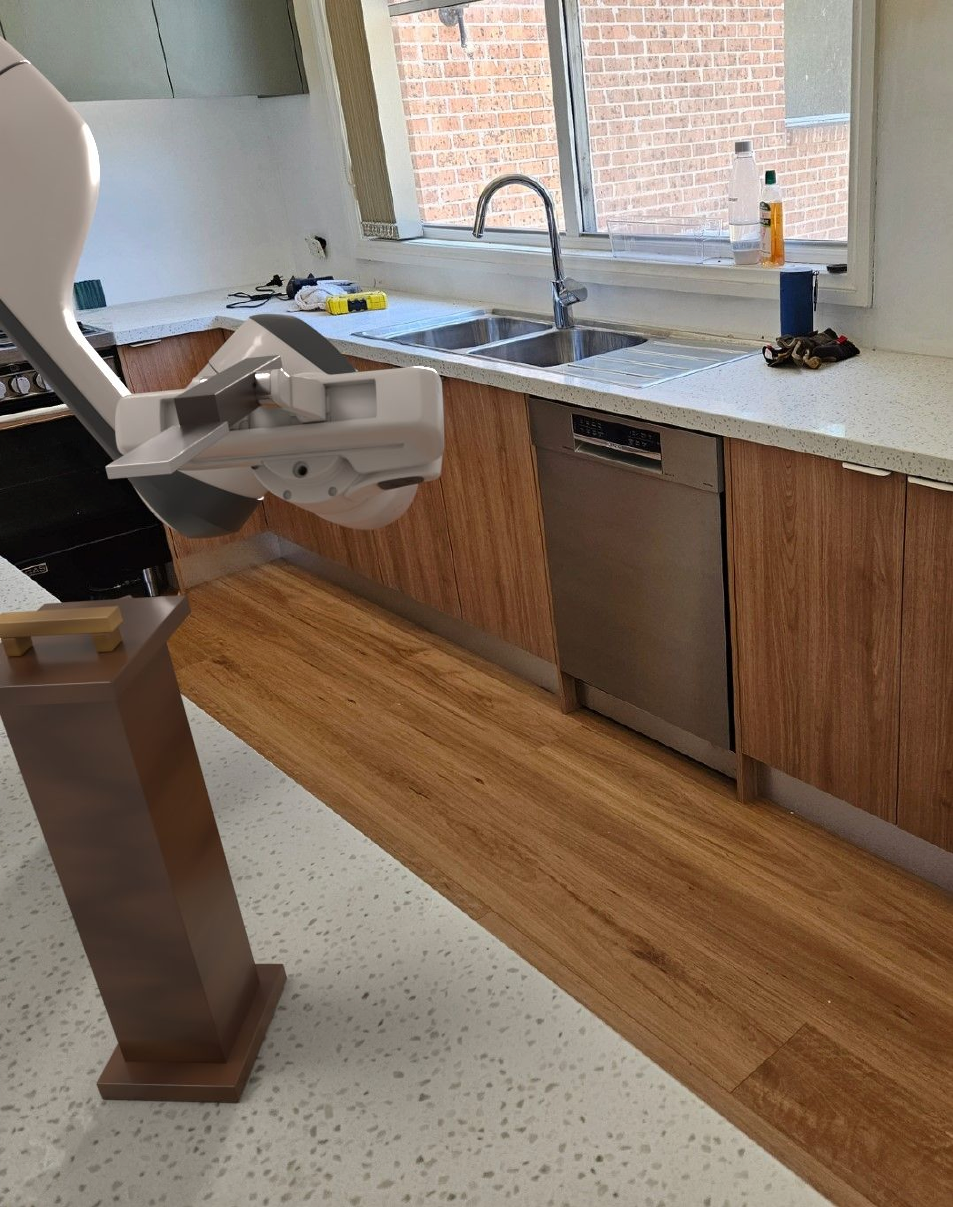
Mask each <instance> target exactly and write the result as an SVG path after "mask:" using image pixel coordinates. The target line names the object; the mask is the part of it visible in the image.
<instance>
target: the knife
mask: <svg viewBox="0 0 953 1207" xmlns="http://www.w3.org/2000/svg"><path fill="white" fill-rule="evenodd" d="M274 369H281V370H283V367H282V361H281V356H280V355H273V356H263V357H253V358H246V359H244V360H242V361H240V362H238V363H236V364H235V365H233V366H231V367H229V368H227V369H225V370H224V371H222V372H220V373H218V374H216V375H215V376H213V377H211V378H209V379H207V380H205V381H204V382H202V383H200V384H198V385H196V386H194V387H193V388H191V389H189V390H187V391H185V392H183V393H182V394H180V395H178V396H176V397H174V403H175V407H176V412H177V416H178V421H179V425H180V426H171V427H170V428H168V429H167V430H165V431H163V432H162V433H160V434H158V435H157V436H155V437H153V438H152V439H150V440H148V441H147V442H145V443H143V444H142V445H140V446H139V447H137V448H135V449H134V450H132V451H130V452H129V453H127V454H125V455H124V456H122V457H120V458H119V459H117V460H115V461H114V460H113V461H112V462H110V463H109V464H107V465H105V471H106V475H107V479H108V480H117V479H128V478H129V477H142V476H154V475H166V474H172V473H173V472H175V471H176V470H177V469H179V468H180V467H182V466H183V465H185V464H186V463H187V462H189V461H190V460H192V459H193V458H194V457H196V456H197V455H199V454H200V453H201V452H203V451H204V450H206V449H207V448H208V447H210V446H211V445H213V444H214V443H216V442H217V441H218V440H220V439H221V438H223V437H224V436H225V435H227V434H228V433H229V428H230V427H231V426H233V425H234V424H236V423H237V422H238V421H240V420H241V419H243V418H244V417H246V416H247V415H248V414H250V413H251V412H253V411H254V410H256V409H257V408H258V407H260V406H261V404H258V403H257V401H256V399H255V394H254V388H255V387H256V384H255V382H254V374H255V372H257V371H266V370H274Z"/></svg>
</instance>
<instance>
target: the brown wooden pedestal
mask: <svg viewBox="0 0 953 1207" xmlns="http://www.w3.org/2000/svg"><path fill="white" fill-rule="evenodd" d="M191 613H192V608H191V605H190V601H189V597H188V595H186V594H183V595H168V596H167V595H166V596H150V597H133V598H131V599H119V598H116V599H99V600H98V599H97V600H82V601H66V602H51V603H50V602H48V603H44V604H42V605H41V606H40V607H39V608H38V609H37V610H28V611H27V610H26V611H11V612H1V613H0V719H1V722H2V725H3V727H4V730H5V733H6V735H7V738H8V741H9V744H10V746H11V749H12V750H11V751H12V752H13V754H14V758H15V761H16V764H17V766H18V769H19V772H20V775H21V777H22V780H23V783H24V785H25V788H26V791H27V794H28V797H29V799H30V803H31V806H32V807H33V810H34V813H35V817H36V819H37V822H38V824H39V828H40V831H41V833H42V835H43V836H42V837H43V838H44V841H45V844H46V846H47V850H48V852H49V855H50V858H51V860H52V864H53V866H54V869H55V872H56V874H57V877H58V880H59V884H60V885H61V888H62V891H63V894H64V896H65V900H66V902H67V905H68V908H69V911H70V914H71V916H72V919H73V921H74V924H75V927H76V930H77V933H78V936H79V939H80V941H81V944H82V947H83V950H84V951H85V955H86V958H87V960H88V963H89V967H90V970H91V971H92V975H93V977H94V980H95V982H96V986H97V988H98V991H99V994H100V997H101V999H102V1002H103V1006H104V1007H105V1010H106V1014H107V1016H108V1019H109V1022H110V1025H111V1027H112V1030H113V1034H114V1036H115V1038H116V1041H117V1044H116V1046H115V1047H114V1049H113V1051H112V1053H111V1055H110V1057H109V1059H108V1060H107V1063H106V1065H105V1067H104V1068H103V1070H102V1072H101V1074H100V1075H99V1078H98V1079H97V1081H96V1087H97V1089H98V1092H99V1095H100V1097H101V1099H102V1100H127V1101H128V1100H129V1101H130V1100H131V1101H133V1100H135V1101H170V1102H171V1101H173V1102H204V1103H205V1102H207V1103H209V1102H211V1103H240V1101H241V1099H242V1096H243V1093H244V1091H245V1089H246V1086H247V1083H248V1080H249V1078H250V1075H251V1072H252V1070H253V1067H254V1065H255V1062H256V1059H257V1057H258V1054H259V1052H260V1049H261V1046H262V1044H263V1042H264V1039H265V1037H266V1034H267V1031H268V1029H269V1026H270V1024H271V1021H272V1019H273V1016H274V1013H275V1011H276V1008H277V1005H278V1003H279V1000H280V998H281V995H282V992H283V990H284V987H285V985H286V982H287V979H288V977H287V972H286V968H285V965H284V963H255V962H256V961H255V959H254V955H253V951H252V947H251V944H250V941H249V936H248V933H247V929H246V926H245V922H244V919H243V915H242V911H241V908H240V904H239V901H238V897H237V893H236V889H235V885H234V883H233V878H232V875H231V872H230V867H229V864H228V860H227V857H226V853H225V849H224V847H223V842H222V838H221V835H220V831H219V827H218V825H217V824H218V823H217V820H216V817H215V812H214V809H213V807H212V802H211V799H210V796H209V792H208V788H207V784H206V781H205V776H204V773H203V770H202V766H201V761H200V759H199V754H198V751H197V748H196V745H195V741H194V736H193V734H192V731H191V726H190V722H189V720H188V715H187V711H186V707H185V704H184V700H183V697H182V692H181V690H180V685H179V682H178V678H177V675H176V671H175V668H174V664H173V660H172V657H171V656H172V655H171V654H170V649H169V645H168V640H169V639H170V638H171V637H172V636H173V635H174V634H175V632H177V630H178V629H179V628H180V627H181V625H182V624H183V623H184V621H185V620H186V619H187V618H188V617H189V615H190V614H191Z"/></svg>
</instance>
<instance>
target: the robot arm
mask: <svg viewBox="0 0 953 1207" xmlns="http://www.w3.org/2000/svg"><path fill="white" fill-rule="evenodd" d="M76 110H77V109H75V107H73V106H72V104H71V102H69V101H68V100H67V99H66V98H65V96H64V95H63V94H62V93H61V92H60V91H59V90H58V89H57V88H56V86H54V84H52V83H51V82H50V80H48V79H47V77H46V76H44V74H43V73H42V72H40V71H39V69H37V67H35V66H34V65H33V64H32V63H31V61H29V60H28V59H27V58H26V57H24V55H22V54H21V53H20V52H19V51H18V50H17V49H16V48H15V47H14V46H12V44H11V43H10V42H8V41H7V40H6V39H4V38H3V37H2V36H1V35H0V329H1V330H2V332H3V333H4V334H5V335H6V337H7V338H8V339H9V340H10V342H11V343H12V344H13V345H14V346H15V347H16V349H17V350H18V351H19V352H20V353H21V355H22V356H23V357H24V358H25V360H26V361H27V362H28V363H29V364H30V365H31V367H32V368H33V369H34V371H36V373H37V374H38V375H39V376H40V377H41V378H42V379H43V381H44V382H45V383H46V384H47V385H48V386H49V388H50V389H51V390H52V391H53V392H54V393H55V394H56V395H57V397H58V398H59V399H60V400H61V401H62V402H63V404H64V405H65V406H66V407H67V408H68V409H69V411H71V412H72V414H73V415H74V416H75V417H76V418H77V419H78V421H79V422H80V423H81V424H82V426H83V427H84V428H85V429H86V430H87V432H89V433H90V434H91V436H92V437H93V438H94V439H95V440H96V441H97V443H98V444H99V445H100V446H101V447H102V448H103V449H104V451H105V452H106V453H107V454H108V456H110V458H111V459H112V460H113V462H114V461H115V460H117V459H119V458H120V457H122V456H124V455H125V454H127V453H129V452H130V451H132V450H134V449H135V448H137V447H139V446H140V445H142V444H143V443H145V442H147V441H148V440H150V439H152V438H153V437H155V436H157V435H158V434H160V433H162V432H163V431H165V430H167V429H168V428H170V427H171V426H180V425H179V421H178V416H177V412H176V407H175V403H174V397H176V396H178V395H180V394H182V393H183V392H185V391H187V390H189V389H191V388H193V387H194V386H196V385H198V384H200V383H202V382H204V381H205V380H207V379H209V378H211V377H213V376H215V375H216V374H218V373H220V372H222V371H224V370H225V369H227V368H229V367H231V366H233V365H235V364H236V363H238V362H240V361H242V360H244V359H246V358H253V357H263V356H273V355H280V356H281V361H282V367H283V370H281V369H274V370H266V371H257V372H255V374H254V382H255V384H256V387H255V388H254V394H255V399H256V401H257V403H258V404H261V406H260V407H258V408H257V409H256V410H254V411H253V412H251V413H250V414H248V415H247V416H246V417H244V418H243V419H241V420H240V421H238V422H237V423H236V424H234V425H233V426H231V427H230V428H229V433H228V434H227V435H225V436H224V437H223V438H221V439H220V440H218V441H217V442H216V443H214V444H213V445H211V446H210V447H208V448H207V449H206V450H204V451H203V452H201V453H200V454H199V455H197V456H196V457H194V458H193V459H192V460H190V461H189V462H187V463H186V464H185V465H183V466H182V467H180V468H179V469H177V470H176V471H175V472H173V473H172V474H166V475H154V476H142V477H129V478H127V480H128V481H129V483H130V484H131V485H132V486H133V488H134V489H135V491H136V493H137V494H138V496H139V498H140V499H141V501H142V502H143V503H144V504H145V505H146V507H147V508H148V509H149V511H150V512H151V513H153V515H154V516H155V517H156V518H157V519H158V520H159V521H161V522H162V523H163V524H164V525H166V526H167V527H168V528H170V529H171V530H173V531H175V532H177V533H179V534H180V535H181V536H183V537H185V538H187V539H192V540H193V539H200V540H201V539H202V540H203V539H212V538H219V537H224V536H229V535H233V534H236V533H240V531H241V530H242V528H243V527H244V526H245V524H246V523H247V522H248V521H249V519H250V518H251V517H252V515H253V514H254V512H255V511H256V510H257V508H258V507H259V505H260V504H261V503H262V502H263V501H264V499H265V495H266V494H267V493H268V492H270V493H271V494H273V495H274V496H276V497H278V498H279V499H282V500H283V501H285V502H288V503H290V504H291V505H295V506H297V507H298V508H300V509H303V510H305V511H306V512H307V511H308V512H310V513H313V514H315V515H316V516H318V517H319V518H321V519H323V520H325V521H327V522H330V523H332V524H335V525H338V526H340V527H344V528H348V529H354V530H360V531H372V530H377V529H378V530H379V529H381V528H383V527H386V526H389V525H390V524H392V523H394V522H395V521H397V520H398V519H400V518H401V517H402V516H403V515H404V514H405V513H406V512H407V511H408V510H409V508H410V507H411V505H412V503H413V501H414V499H415V497H416V494H417V491H418V487H419V484H421V483H425V482H430V481H431V482H432V481H435V480H437V479H439V478H440V477H441V475H442V468H443V454H444V451H445V414H444V412H445V411H444V395H443V382H442V379H441V376H440V374H439V373H438V371H436V370H435V369H434V368H430V367H424V366H406V367H398V368H397V367H396V368H387V369H386V368H385V369H377V370H368V371H367V370H365V371H359V370H358V369H357V368H356V366H354V365H353V363H351V362H350V361H349V360H348V358H346V357H345V355H343V353H342V352H341V351H340V350H339V349H338V348H337V347H336V346H335V345H334V344H332V342H330V340H328V339H327V338H326V337H325V336H324V335H323V334H322V333H320V331H317V329H315V328H314V327H313V326H312V325H310V324H309V323H307V322H305V321H304V320H302V319H301V318H299V317H297V316H295V315H289V314H280V313H260V314H258V313H257V314H254V315H250V316H249V317H248V318H247V319H246V320H245V321H244V322H243V323H242V324H240V326H238V328H237V329H236V330H235V331H234V332H233V333H232V335H231V336H230V337H229V338H228V339H227V340H226V341H225V342H224V344H223V345H221V346H220V348H219V349H218V350H217V351H216V352H215V353H214V354H213V355H212V356H211V358H210V359H209V360H208V363H207V364H206V365H205V366H204V367H203V368H202V369H201V371H200V372H199V373H198V374H197V375H196V376H195V377H194V376H193V377H192V379H191V382H190V383H189V384H188V385H187V386H186V387H185V388H180V389H169V390H160V391H150V392H148V391H147V392H139V393H138V392H137V393H131V392H130V390H129V389H128V388H127V387H126V386H125V384H124V383H123V382H122V381H121V379H120V378H119V377H118V375H116V374H115V372H114V371H113V370H112V369H111V367H110V366H109V365H108V364H107V363H106V361H104V359H103V358H102V357H101V356H100V355H99V353H98V352H97V351H96V350H95V349H94V347H93V346H92V345H91V344H90V343H89V341H88V340H87V339H86V337H85V336H84V335H83V332H82V330H81V329H80V328H79V325H78V322H77V320H76V316H75V312H74V304H73V296H74V294H73V292H74V287H75V286H74V285H75V281H76V280H75V279H76V275H77V272H78V268H79V264H80V261H81V258H82V254H83V251H84V250H85V246H86V243H87V240H88V237H89V235H90V231H91V228H92V226H93V222H94V219H95V214H96V210H97V207H98V202H99V195H100V184H101V167H100V159H99V158H100V157H99V154H98V149H97V145H96V142H95V139H94V136H93V134H92V132H91V129H90V127H89V125H88V124H87V122H86V121H85V119H83V117H81V115H80V114H79V112H77V111H76Z"/></svg>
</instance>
